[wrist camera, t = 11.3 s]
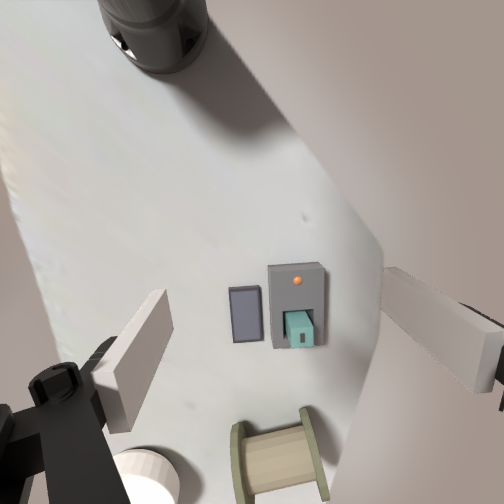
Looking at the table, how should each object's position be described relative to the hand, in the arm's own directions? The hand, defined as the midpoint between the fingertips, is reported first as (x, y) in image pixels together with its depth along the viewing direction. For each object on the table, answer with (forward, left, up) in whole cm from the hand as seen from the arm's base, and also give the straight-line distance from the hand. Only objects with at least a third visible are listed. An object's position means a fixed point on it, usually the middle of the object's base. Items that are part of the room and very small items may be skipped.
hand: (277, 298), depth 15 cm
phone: (+19, -2, -33) cm, 38 cm away
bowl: (+57, -30, -34) cm, 73 cm away
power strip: (+17, +8, -33) cm, 38 cm away
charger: (+20, +8, -32) cm, 39 cm away
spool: (+49, +2, -34) cm, 59 cm away
